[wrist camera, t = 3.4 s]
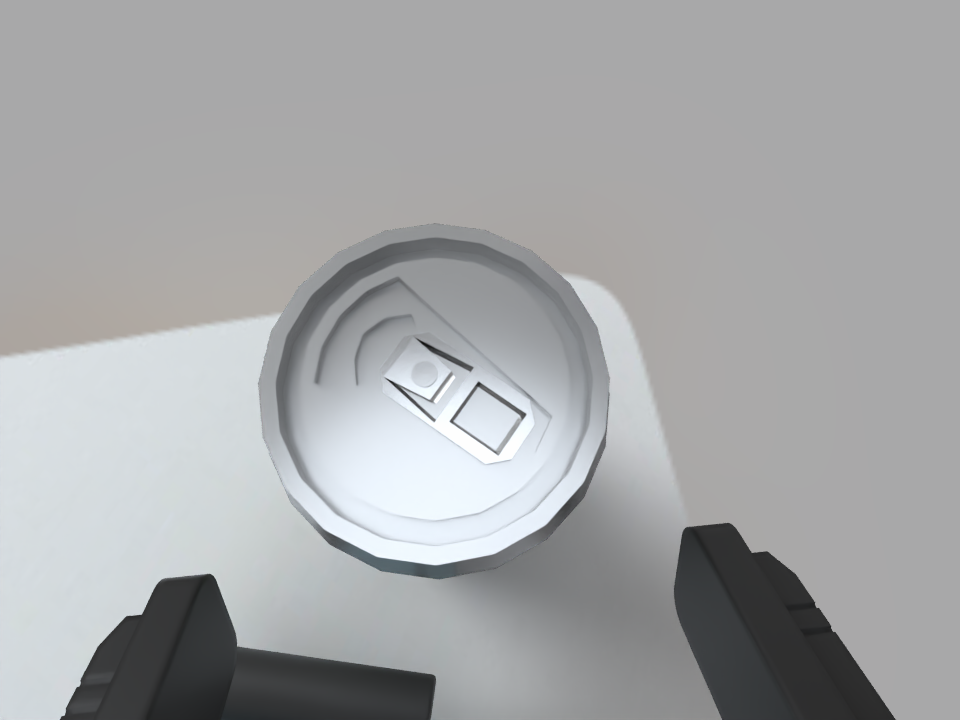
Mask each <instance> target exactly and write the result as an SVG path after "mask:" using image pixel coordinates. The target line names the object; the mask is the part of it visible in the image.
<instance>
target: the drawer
mask: <svg viewBox="0 0 960 720" xmlns="http://www.w3.org/2000/svg"><path fill="white" fill-rule="evenodd" d="M435 684H436V678H435V676H434V675H432V674H425V673H418V672H411V671H404V670H397V669H390V668H383V667H376V666H369V665H362V664H355V663H348V662H341V661H334V660H327V659H320V658H313V657H306V656H299V655H292V654H285V653H278V652H271V651H264V650H257V649H250V648H243V647H237V661H236V667H235V672H234V676H233V679H232V683H231V686H230V690H229V693H228V697H227V700H226V704H225V707H224V711H223V714H222V717H221V720H431V713H432V706H433V699H434V692H435Z"/></svg>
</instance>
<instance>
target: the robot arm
mask: <svg viewBox="0 0 960 720" xmlns="http://www.w3.org/2000/svg"><path fill="white" fill-rule="evenodd" d="M674 598H675V605H676V610H677V614H678V618H679V621H680V624H681V626H682V628H683V631H684V633H685V635H686V638H687V640H688V642H689V644H690V647H691V649H692V651H693V654H694V656H695V658H696V660H697V663H698V665H699V667H700V670H701V672H702V674H703V676H704V679H705V681H706V683H707V686H708V688H709V690H710V692H711V695H712V697H713V699H714V702H715V704H716V706H717V708H718V711H719V713H720V715H721V718H722V720H895V718H894V717H893V715H892V714H891V712H890V711H889V709H888V708H887V707H886V705H885V703H884V702H883V701H882V699H881V698H880V696H879V695H878V694H877V692H876V690H875V689H874V687H873V686H872V685H871V683H870V682H869V680H868V679H867V677H866V676H865V674H864V673H863V671H862V670H861V669H860V667H859V666H858V664H857V663H856V661H855V660H854V658H853V657H852V656H851V654H850V653H849V651H848V650H847V648H846V647H845V645H844V644H843V642H842V641H841V640H840V638H839V637H838V635H837V634H836V632H833V631H832V629H831V625H830V624H829V622H828V621H827V619H826V618H825V616H824V615H823V613H822V612H821V610H820V609H819V608H816V606H815V602H814V600H813V599H812V597H811V596H810V595H809V593H808V592H807V590H806V589H805V587H804V586H803V584H802V583H801V581H800V580H799V579H798V577H797V576H796V574H795V573H793V572H792V571H791V570H790V569H788V568H787V567H786V566H785V565H783V564H782V563H781V562H780V561H778V560H777V559H776V558H775V557H773V556H772V555H771V554H770V553H769V552H758V553H751V551H750V550H749V548H748V546H747V545H746V543H745V542H744V540H743V538H742V537H741V535H740V534H739V532H738V531H737V529H736V528H735V527H734V526H733V525H732V524H730V523H724V524H714V525H704V526H694V527H686V528H685V529H684V531H683V533H682V539H681V545H680V552H679V559H678V565H677V572H676V578H675V585H674ZM236 661H237V639H236V633H235V630H234V627H233V625H232V622H231V619H230V617H229V614H228V611H227V608H226V606H225V603H224V600H223V598H222V595H221V592H220V589H219V587H218V584H217V581H216V579H215V578H214V576H213V575H211V574H204V575H194V576H184V577H175V578H165V579H162V580H161V581H160V582H159V583H158V584H157V585H156V587H155V589H154V591H153V593H152V595H151V597H150V599H149V601H148V603H147V605H146V607H145V610H144V612H143V614H142V615H135V616H126V617H125V618H124V619H123V620H122V621H121V623H120V624H119V625H118V626H117V627H116V628H115V629H114V630H113V631H112V632H111V633H110V634H109V635H108V636H107V638H106V639H105V640H104V641H103V642H102V643H101V644H100V645H99V646H98V648H97V650H96V651H95V653H94V655H93V657H92V659H91V661H90V663H89V665H88V667H87V669H86V671H85V673H84V675H83V676H82V678H81V680H80V681H81V685H80V687H77V688H76V690H75V692H74V694H73V696H72V698H71V700H70V702H69V703H68V705H67V707H66V714H65V716H62V717H61V719H60V720H221V717H222V714H223V711H224V707H225V704H226V700H227V697H228V693H229V690H230V686H231V683H232V679H233V676H234V672H235V667H236Z"/></svg>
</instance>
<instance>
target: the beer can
mask: <svg viewBox="0 0 960 720" xmlns="http://www.w3.org/2000/svg"><path fill="white" fill-rule="evenodd" d="M609 380H610V377H609V373H608V369H607V365H606V361H605V357H604V353H603V349H602V345H601V341H600V337H599V333H598V329H597V326H596V325H595V323H594V321H593V320H592V318H591V317H590V315H589V313H588V312H587V310H586V309H585V307H584V305H583V304H582V302H581V301H580V299H579V297H578V296H577V294H576V292H575V291H574V289H573V288H572V286H571V284H570V283H569V282H567V281H566V280H565V279H564V278H563V277H562V276H561V275H559V274H558V273H557V272H556V271H555V270H554V269H552V268H551V267H550V266H549V265H548V264H547V263H545V262H544V261H543V260H542V259H541V258H540V257H538V256H537V255H536V254H535V253H534V252H533V251H531V250H529V249H527V248H525V247H522V246H520V245H518V244H516V243H513V242H511V241H509V240H506V239H504V238H502V237H500V236H498V235H495V234H493V233H491V232H489V231H486V230H481V229H474V228H466V227H459V226H451V225H444V224H435V223H434V224H427V225H421V226H414V227H407V228H400V229H394V230H387V231H383V232H381V233H379V234H377V235H375V236H372V237H370V238H368V239H366V240H364V241H362V242H359V243H357V244H355V245H353V246H351V247H349V248H347V249H344V250H342V251H340V252H338V253H337V254H335V256H333V257H332V258H331V259H330V260H329V261H327V262H326V263H325V264H324V265H323V266H322V267H321V268H319V269H318V270H317V271H316V272H315V273H314V274H313V275H311V276H310V277H309V278H308V279H307V280H306V281H305V282H303V283H302V284H301V285H300V286H299V287H298V289H297V290H296V292H295V294H294V295H293V297H292V298H291V300H290V302H289V303H288V305H287V307H286V308H285V310H284V311H283V313H282V315H281V316H280V318H279V319H278V321H277V323H276V324H275V326H274V328H273V329H272V331H271V334H270V338H269V342H268V346H267V350H266V354H265V358H264V362H263V366H262V370H261V374H260V379H259V383H258V385H259V397H260V409H261V421H262V433H263V439H264V441H265V444H266V446H267V448H268V450H269V454H270V457H271V459H272V461H273V464H274V466H275V468H276V470H277V473H278V475H279V477H280V479H281V482H282V484H283V486H284V488H285V491H286V493H287V495H288V497H289V500H290V502H291V504H292V505H293V506H294V507H295V508H296V509H297V510H298V511H299V512H300V513H301V514H302V515H303V517H304V518H305V519H306V520H307V521H308V522H309V523H310V524H311V525H312V526H313V527H314V528H315V529H316V530H317V531H318V532H319V534H320V535H321V536H322V537H323V538H324V539H325V540H326V541H327V542H328V543H329V544H330V545H332V546H334V547H335V548H337V549H339V550H341V551H343V552H345V553H347V554H349V555H351V556H353V557H355V558H357V559H359V560H361V561H363V562H365V563H366V564H368V565H370V566H372V567H374V568H376V569H378V570H380V571H384V572H391V573H398V574H405V575H412V576H419V577H426V578H433V579H443V578H449V577H454V576H459V575H464V574H469V573H474V572H480V571H485V570H490V569H495V568H498V567H500V566H501V565H503V564H505V563H507V562H508V561H510V560H512V559H513V558H515V557H517V556H519V555H520V554H522V553H524V552H526V551H527V550H529V549H531V548H533V547H534V546H536V545H538V544H540V543H541V542H543V541H545V540H547V539H548V537H549V536H550V535H551V534H552V533H553V532H554V531H555V530H556V528H557V527H558V526H559V525H560V524H561V523H562V522H563V520H564V519H565V518H566V517H567V516H568V515H569V514H570V513H571V511H572V510H573V509H574V508H575V507H576V506H577V505H578V504H579V502H580V501H581V500H582V499H583V498H584V496H585V494H586V492H587V489H588V487H589V484H590V482H591V480H592V477H593V475H594V473H595V470H596V468H597V465H598V463H599V461H600V458H601V456H602V454H603V451H604V449H605V445H606V432H607V419H608V406H609Z"/></svg>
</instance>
